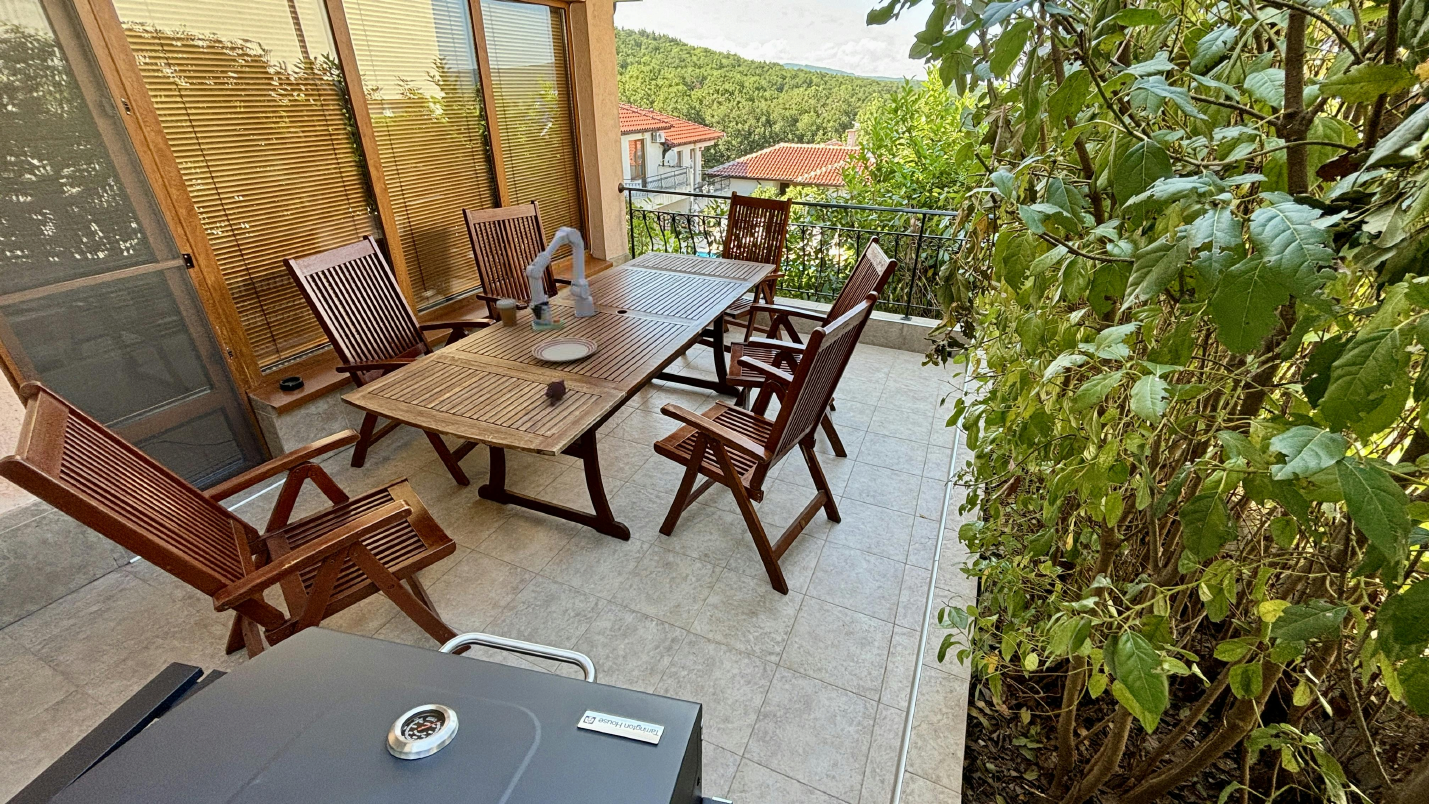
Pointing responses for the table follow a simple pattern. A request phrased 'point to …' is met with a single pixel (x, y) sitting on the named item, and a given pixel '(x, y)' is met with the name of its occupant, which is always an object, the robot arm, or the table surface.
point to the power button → (556, 320)
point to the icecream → (555, 391)
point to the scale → (547, 326)
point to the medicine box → (543, 316)
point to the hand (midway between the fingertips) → (541, 317)
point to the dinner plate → (564, 349)
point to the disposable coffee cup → (507, 312)
